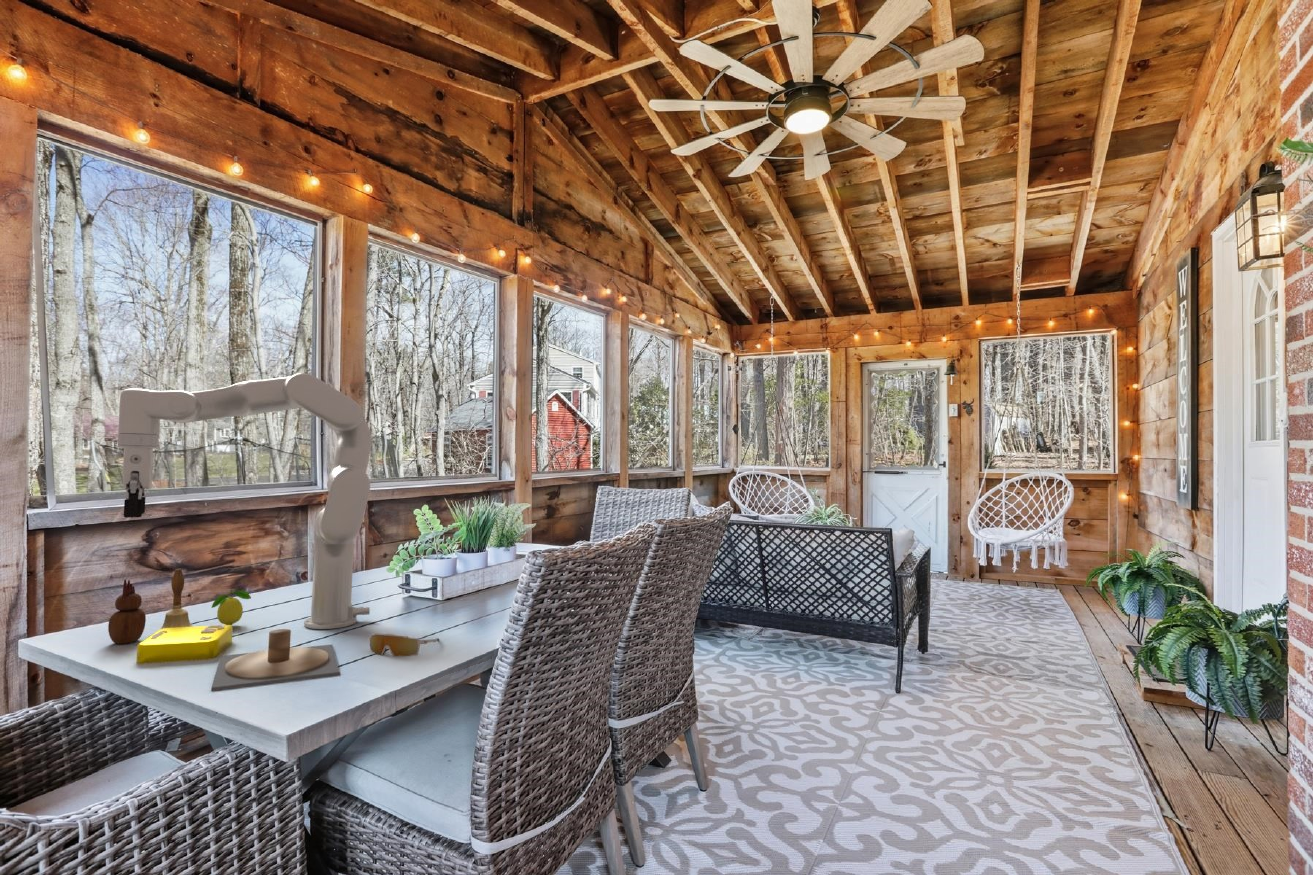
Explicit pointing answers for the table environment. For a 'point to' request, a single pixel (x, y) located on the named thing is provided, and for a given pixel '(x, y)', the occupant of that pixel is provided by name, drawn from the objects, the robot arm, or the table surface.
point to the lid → (277, 659)
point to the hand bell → (177, 604)
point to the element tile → (184, 644)
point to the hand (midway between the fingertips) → (134, 515)
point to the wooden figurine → (127, 617)
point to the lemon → (230, 607)
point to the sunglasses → (396, 644)
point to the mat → (228, 681)
